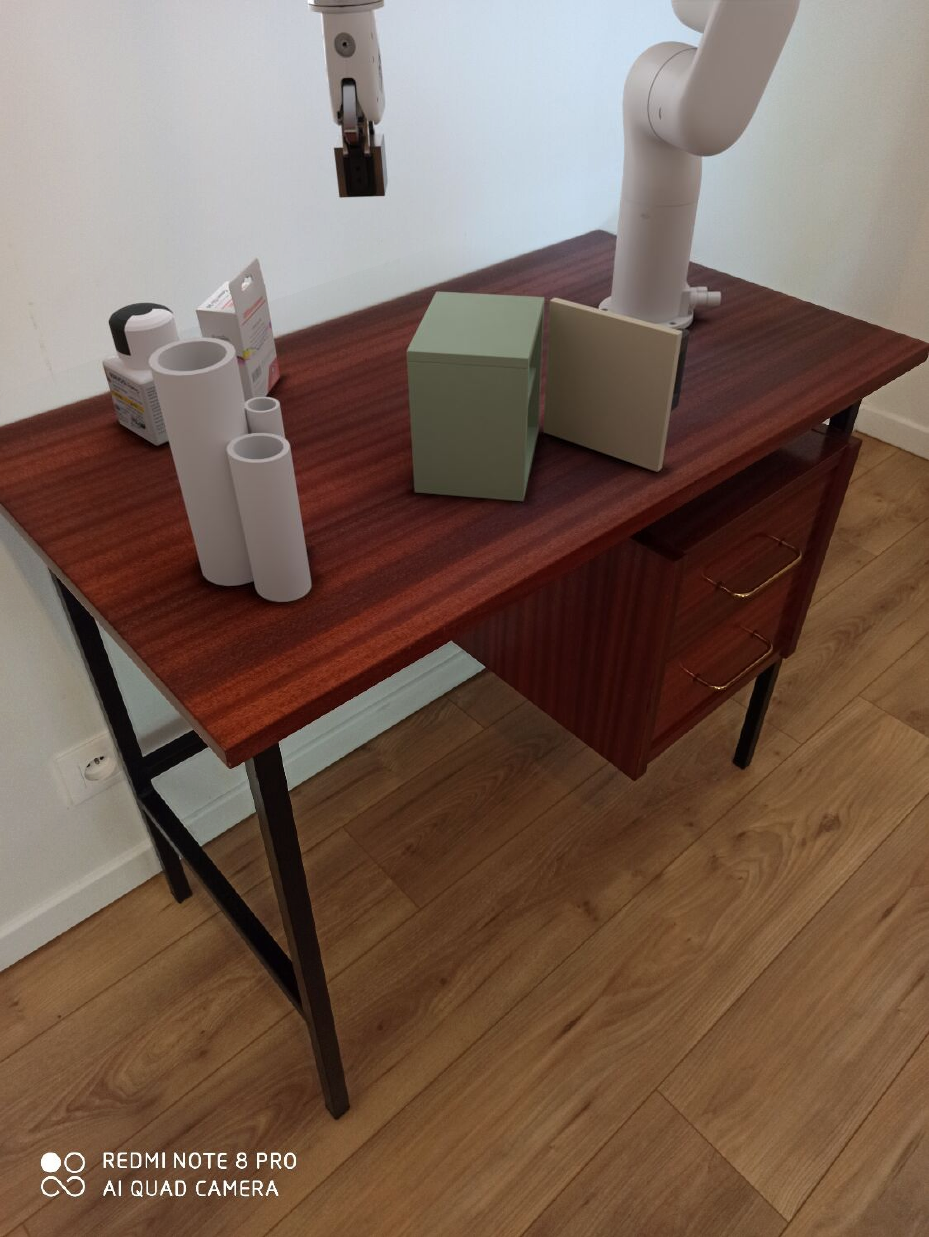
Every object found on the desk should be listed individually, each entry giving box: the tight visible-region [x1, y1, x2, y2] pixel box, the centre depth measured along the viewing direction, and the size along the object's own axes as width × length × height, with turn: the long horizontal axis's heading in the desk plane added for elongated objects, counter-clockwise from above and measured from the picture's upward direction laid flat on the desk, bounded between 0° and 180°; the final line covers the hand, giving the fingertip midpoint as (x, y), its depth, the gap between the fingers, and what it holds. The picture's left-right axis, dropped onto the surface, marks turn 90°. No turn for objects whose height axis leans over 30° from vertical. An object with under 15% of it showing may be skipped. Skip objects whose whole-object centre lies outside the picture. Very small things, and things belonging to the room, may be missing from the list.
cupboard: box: [406, 291, 546, 502], centre depth 91 cm, size 11×14×15 cm
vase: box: [149, 337, 312, 603], centre depth 76 cm, size 11×7×20 cm, turn 67°
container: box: [101, 302, 180, 446], centre depth 98 cm, size 8×8×13 cm
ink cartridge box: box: [195, 257, 281, 402], centre depth 103 cm, size 9×5×15 cm, turn 168°
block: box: [333, 133, 389, 198], centre depth 100 cm, size 5×5×5 cm
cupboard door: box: [542, 297, 691, 473], centre depth 94 cm, size 7×14×15 cm, turn 53°
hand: (363, 185), depth 101 cm, fingers closed on block, 5 cm apart
